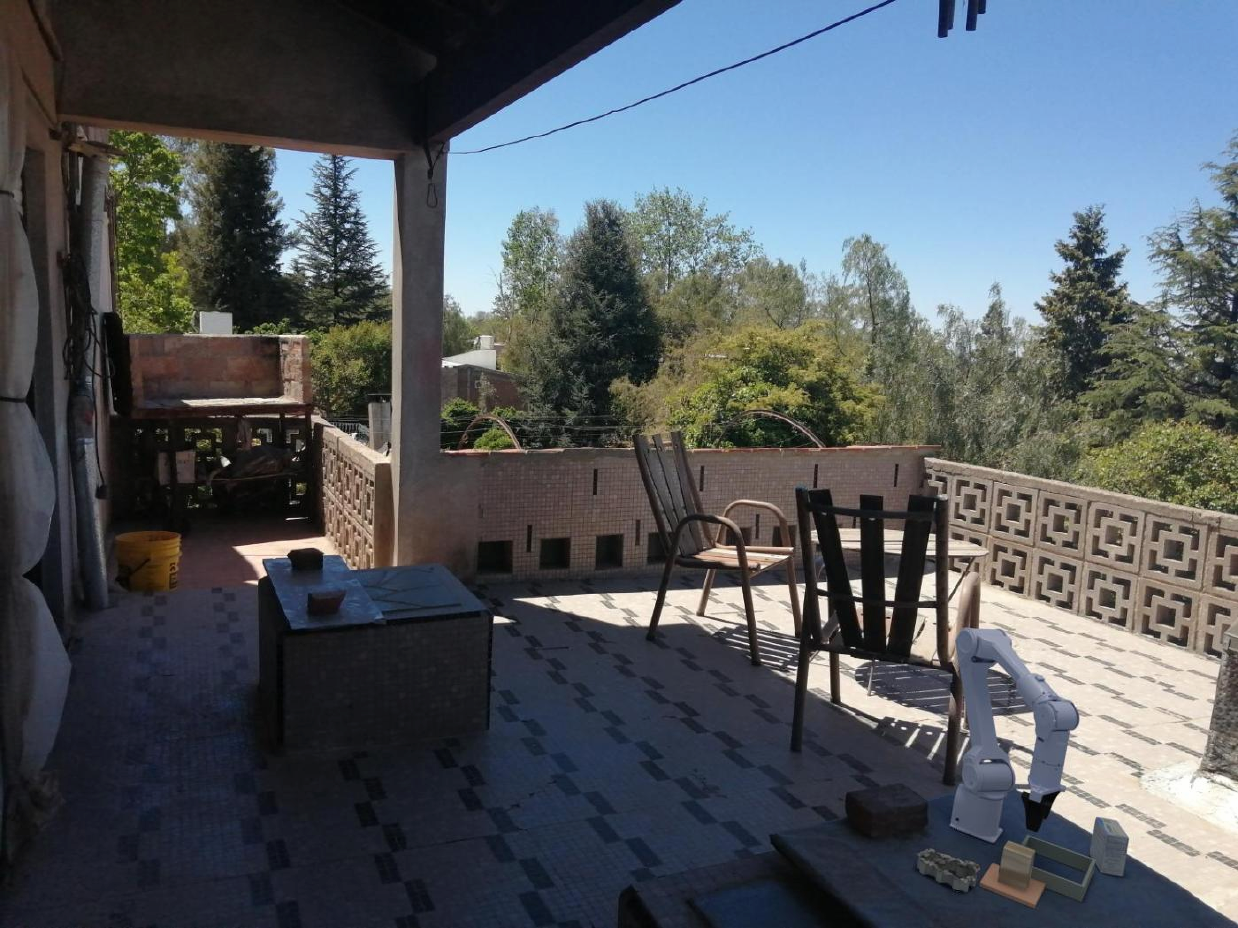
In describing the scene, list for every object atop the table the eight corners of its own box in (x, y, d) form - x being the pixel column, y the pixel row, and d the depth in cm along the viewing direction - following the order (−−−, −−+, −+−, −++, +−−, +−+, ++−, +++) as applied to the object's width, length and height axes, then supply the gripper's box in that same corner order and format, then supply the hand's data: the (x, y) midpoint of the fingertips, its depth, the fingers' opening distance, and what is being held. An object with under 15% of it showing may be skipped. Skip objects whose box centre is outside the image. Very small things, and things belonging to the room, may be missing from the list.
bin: (1009, 873, 184) (1012, 859, 184) (1025, 847, 196) (1027, 834, 195) (1081, 901, 177) (1084, 887, 176) (1093, 873, 188) (1095, 859, 188)
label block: (1024, 892, 176) (1031, 858, 175) (996, 881, 179) (1002, 847, 178) (1029, 884, 179) (1035, 850, 179) (1001, 873, 182) (1007, 839, 182)
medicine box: (1122, 877, 188) (1130, 837, 187) (1099, 872, 189) (1107, 833, 188) (1110, 858, 196) (1117, 819, 195) (1088, 853, 197) (1095, 815, 196)
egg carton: (980, 885, 179) (983, 865, 178) (961, 897, 174) (964, 877, 173) (930, 859, 187) (933, 840, 186) (910, 869, 182) (914, 849, 181)
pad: (979, 885, 178) (979, 882, 178) (992, 866, 186) (992, 862, 186) (1034, 908, 172) (1035, 904, 172) (1045, 887, 181) (1045, 883, 180)
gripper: (1062, 777, 175) (1049, 844, 177) (1077, 756, 187) (1065, 819, 189) (1023, 764, 180) (1011, 829, 181) (1040, 744, 191) (1028, 806, 193)
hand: (1036, 823), depth 185 cm, fingers open, 7 cm apart
